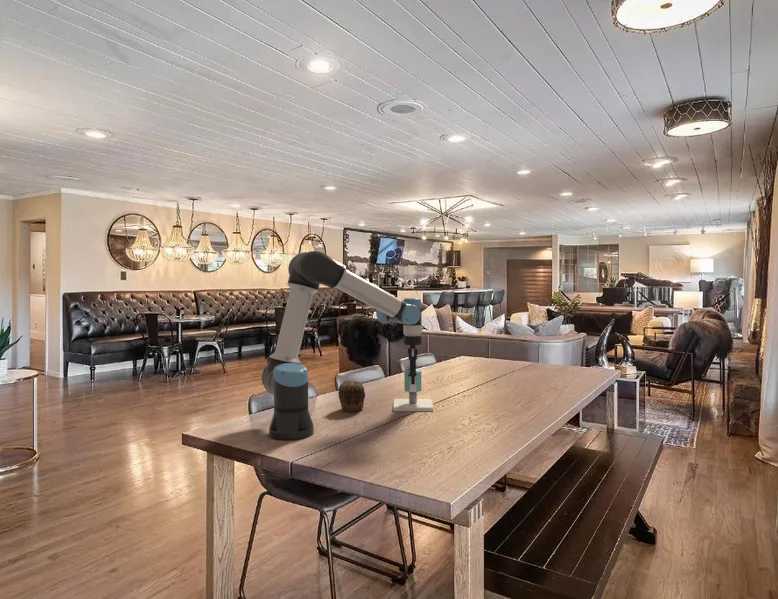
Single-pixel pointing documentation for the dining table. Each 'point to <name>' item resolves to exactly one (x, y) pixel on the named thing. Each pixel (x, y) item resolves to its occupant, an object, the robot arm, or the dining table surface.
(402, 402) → the post board
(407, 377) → the teal cylinder
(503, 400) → the dining table surface
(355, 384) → the brown domed block
